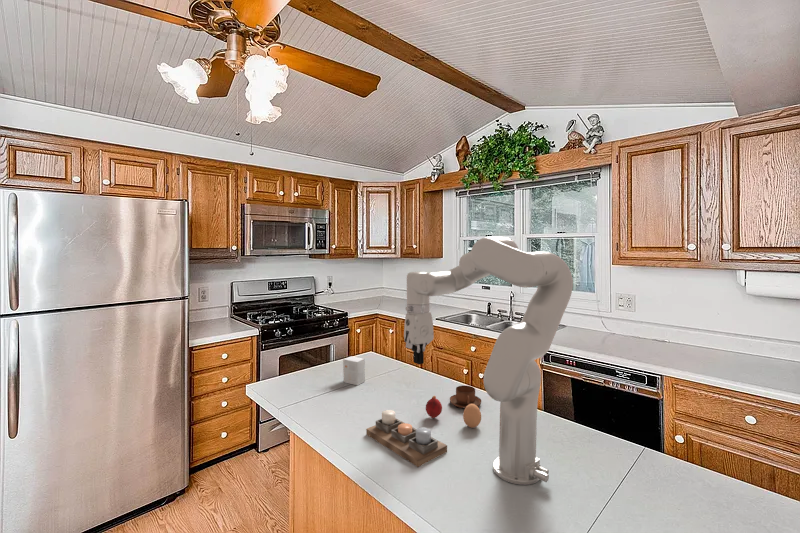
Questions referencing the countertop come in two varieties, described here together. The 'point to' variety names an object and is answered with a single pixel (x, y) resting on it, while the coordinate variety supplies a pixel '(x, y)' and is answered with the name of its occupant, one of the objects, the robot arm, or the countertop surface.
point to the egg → (472, 416)
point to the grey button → (423, 436)
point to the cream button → (388, 417)
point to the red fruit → (433, 407)
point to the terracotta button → (404, 429)
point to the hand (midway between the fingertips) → (418, 363)
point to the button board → (405, 443)
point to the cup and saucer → (465, 397)
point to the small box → (354, 370)
